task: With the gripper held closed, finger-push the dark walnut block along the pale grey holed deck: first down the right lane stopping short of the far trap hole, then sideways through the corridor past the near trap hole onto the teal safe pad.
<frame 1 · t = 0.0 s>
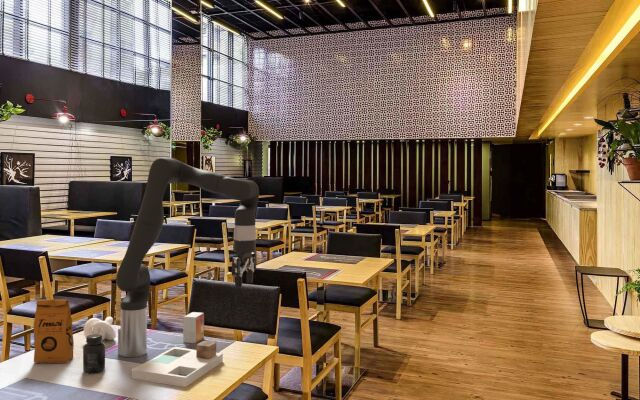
hand: (244, 285, 174), 29 cm above the table, fingers open, 8 cm apart
walnut block: (206, 356, 178), point 3 cm above the table, touching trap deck
coffee package: (54, 361, 179), on the table
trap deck: (179, 369, 173), on the table
small box: (193, 340, 205), on the table
supplement bottle: (94, 371, 170), on the table
white lumpy figure: (102, 341, 202), on the table
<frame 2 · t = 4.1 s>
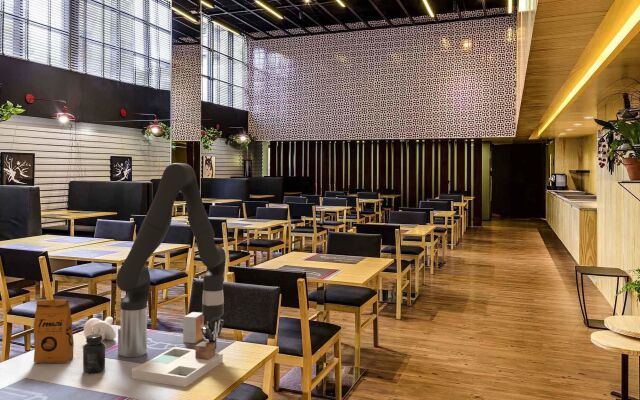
hand: (212, 349, 182), 4 cm above the table, fingers closed
walnut block: (205, 356, 177), point 3 cm above the table
everything else where it was.
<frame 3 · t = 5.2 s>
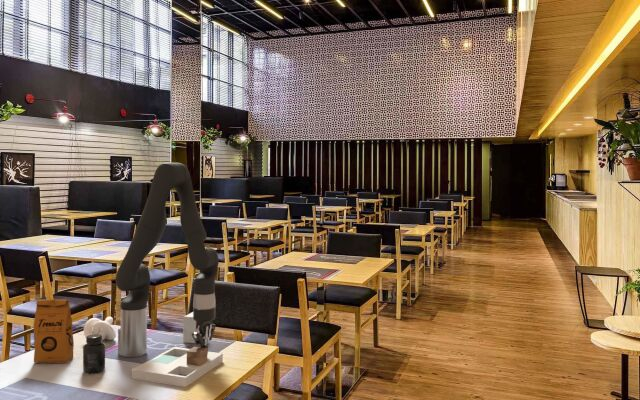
hand: (203, 354, 176), 4 cm above the table, fingers closed
walnut block: (197, 362, 171), point 3 cm above the table, touching gripper
everything else where it was.
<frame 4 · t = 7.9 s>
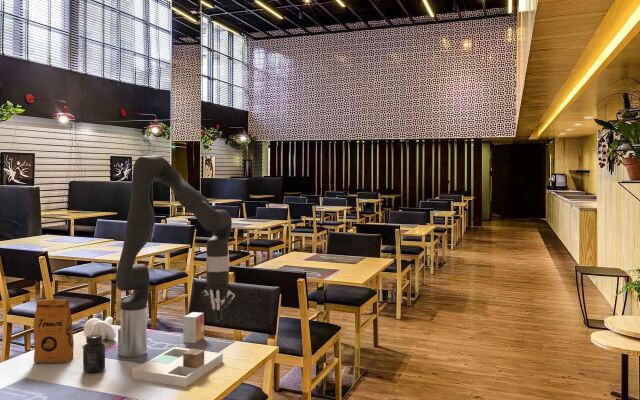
hand: (217, 320, 170), 18 cm above the table, fingers closed
walnut block: (193, 365, 169), point 3 cm above the table, touching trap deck
everything else where it was.
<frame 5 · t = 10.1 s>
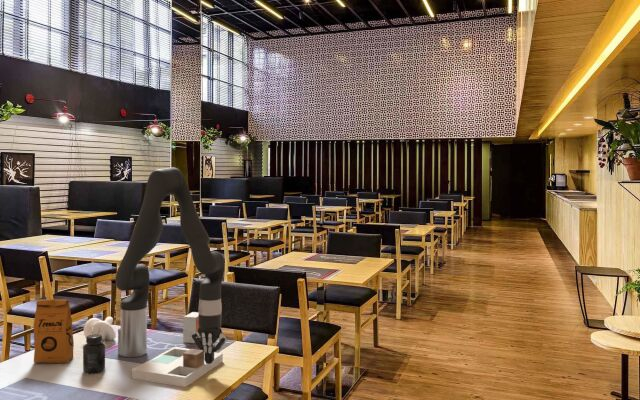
hand: (209, 362, 169), 4 cm above the table, fingers closed
walnut block: (193, 365, 169), point 3 cm above the table, touching gripper, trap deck
everything else where it was.
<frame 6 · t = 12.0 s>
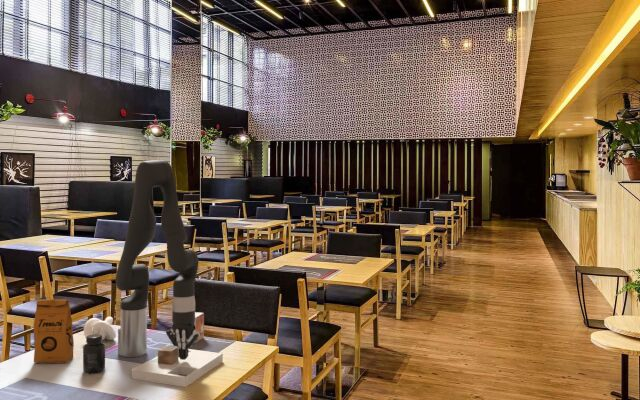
hand: (183, 358, 172), 4 cm above the table, fingers closed
walnut block: (168, 361, 172), point 3 cm above the table, touching gripper, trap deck
everything else where it was.
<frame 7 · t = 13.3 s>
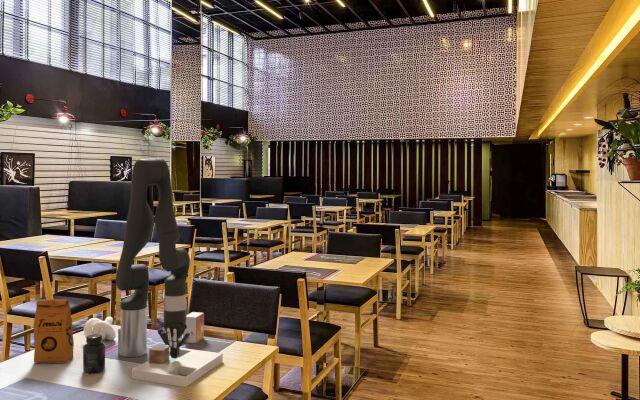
hand: (174, 357, 173), 4 cm above the table, fingers closed
walnut block: (159, 361, 172), point 3 cm above the table, touching gripper, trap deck
everything else where it was.
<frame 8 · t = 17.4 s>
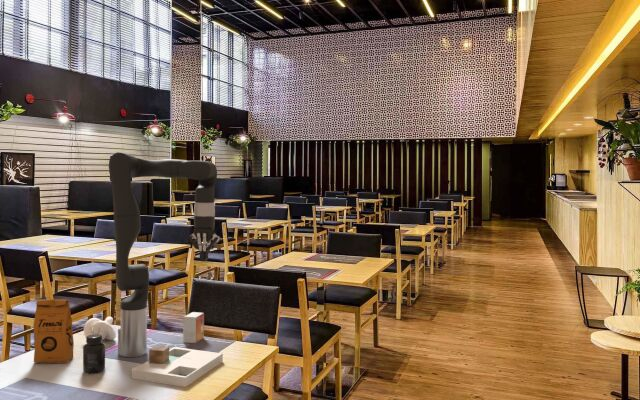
hand: (203, 261, 188), 35 cm above the table, fingers closed
walnut block: (159, 361, 172), point 3 cm above the table, touching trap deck
everything else where it was.
at the end: walnut block inside the target area on the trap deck (2.4 cm from its centre), point 3.0 cm above the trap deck's base; walnut block tilted 1° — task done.
